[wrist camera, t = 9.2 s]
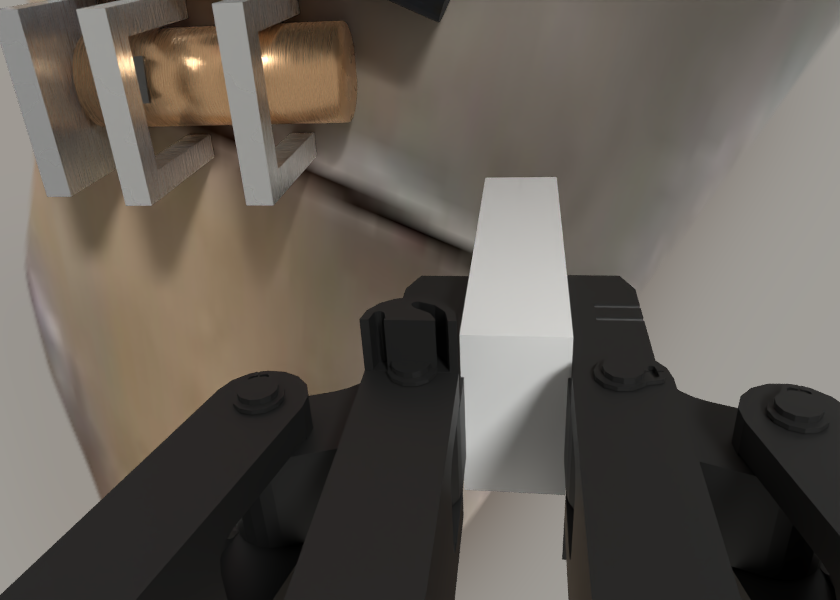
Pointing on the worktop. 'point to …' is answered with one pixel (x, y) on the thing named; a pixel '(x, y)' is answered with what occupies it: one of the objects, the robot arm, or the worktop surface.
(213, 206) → the worktop surface
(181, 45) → the tube
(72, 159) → the grey slatted rack
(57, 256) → the worktop surface
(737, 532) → the robot arm
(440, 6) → the pipe connector
